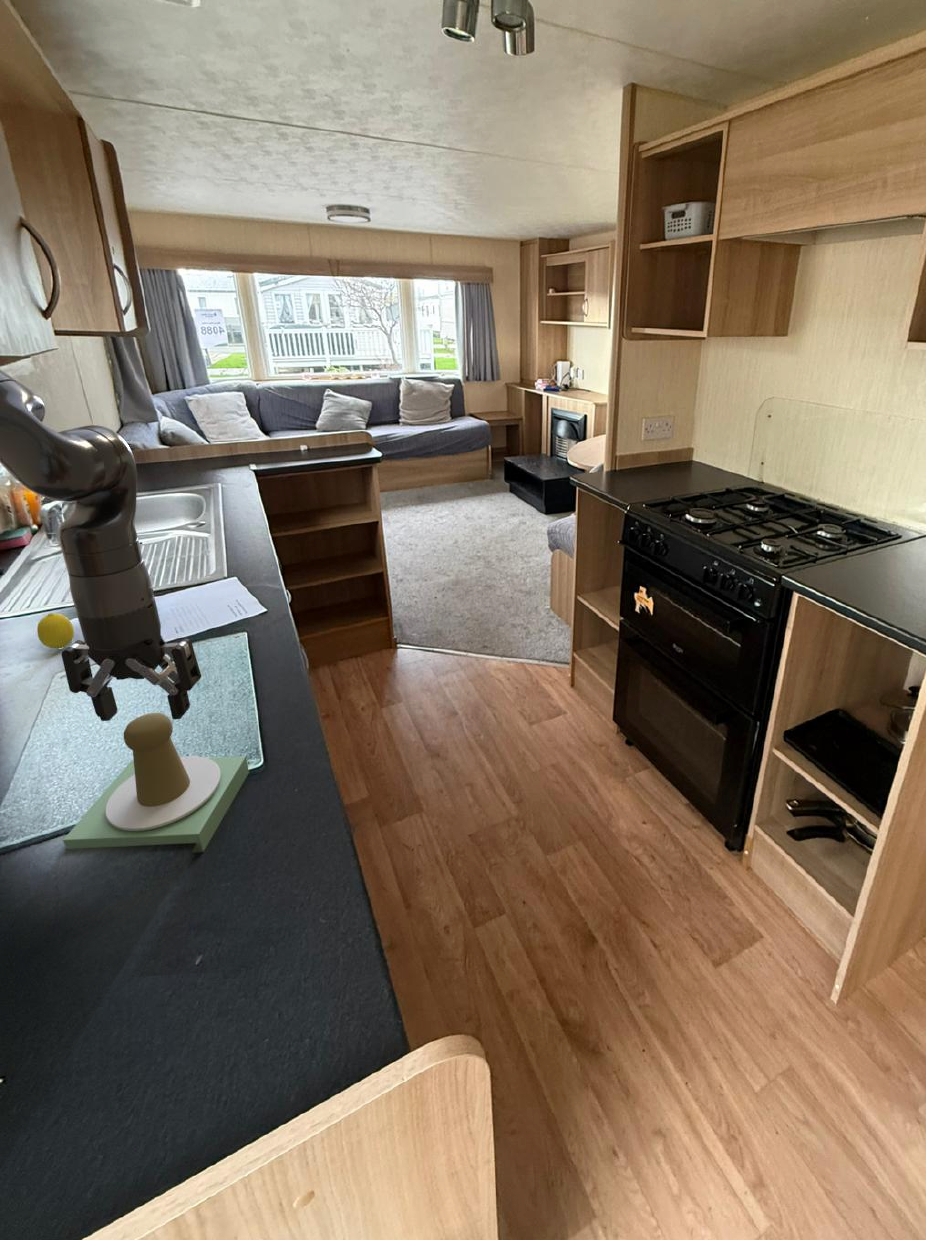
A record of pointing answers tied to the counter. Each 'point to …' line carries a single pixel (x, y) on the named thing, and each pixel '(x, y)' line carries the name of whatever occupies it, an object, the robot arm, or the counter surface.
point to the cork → (155, 760)
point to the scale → (163, 808)
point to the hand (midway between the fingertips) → (145, 716)
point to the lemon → (55, 631)
